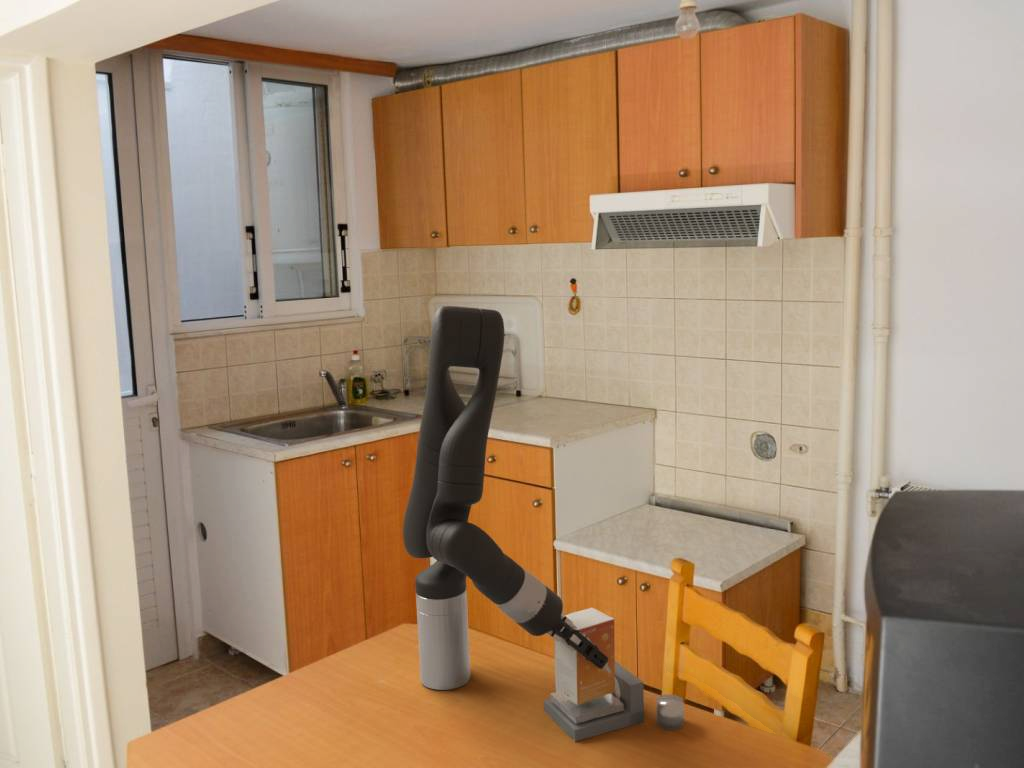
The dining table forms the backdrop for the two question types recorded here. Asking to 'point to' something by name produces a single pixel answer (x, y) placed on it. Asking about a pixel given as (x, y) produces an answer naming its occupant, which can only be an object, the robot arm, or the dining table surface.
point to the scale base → (627, 693)
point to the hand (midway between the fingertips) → (592, 654)
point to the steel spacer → (670, 712)
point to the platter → (587, 707)
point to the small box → (575, 671)
